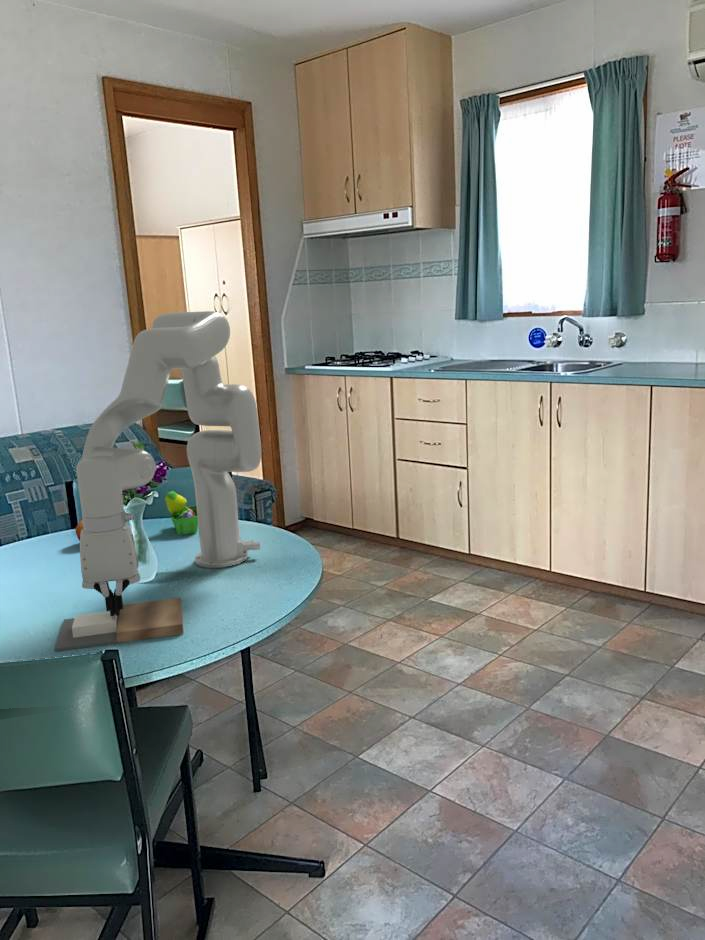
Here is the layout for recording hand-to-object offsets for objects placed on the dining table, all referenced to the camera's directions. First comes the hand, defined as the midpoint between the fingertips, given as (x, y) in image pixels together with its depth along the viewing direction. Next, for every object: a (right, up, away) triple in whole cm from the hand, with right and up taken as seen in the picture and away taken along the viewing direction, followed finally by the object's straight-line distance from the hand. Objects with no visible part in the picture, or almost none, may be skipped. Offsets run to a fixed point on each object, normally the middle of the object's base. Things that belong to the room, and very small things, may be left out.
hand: (115, 613), depth 150 cm
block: (-4, -3, 0) cm, 5 cm away
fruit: (-23, +8, +56) cm, 61 cm away
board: (+6, -2, +2) cm, 7 cm away
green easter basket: (-1, +11, +65) cm, 66 cm away
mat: (-5, -4, 0) cm, 6 cm away
